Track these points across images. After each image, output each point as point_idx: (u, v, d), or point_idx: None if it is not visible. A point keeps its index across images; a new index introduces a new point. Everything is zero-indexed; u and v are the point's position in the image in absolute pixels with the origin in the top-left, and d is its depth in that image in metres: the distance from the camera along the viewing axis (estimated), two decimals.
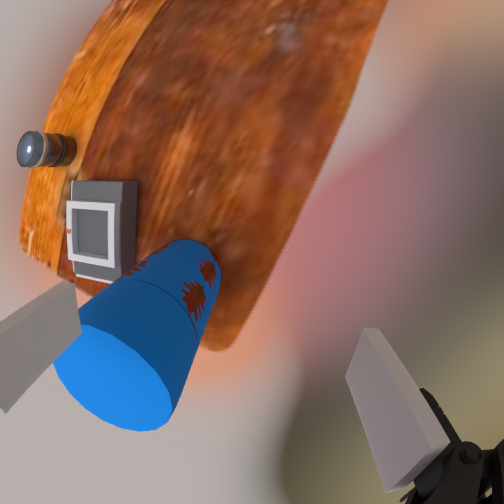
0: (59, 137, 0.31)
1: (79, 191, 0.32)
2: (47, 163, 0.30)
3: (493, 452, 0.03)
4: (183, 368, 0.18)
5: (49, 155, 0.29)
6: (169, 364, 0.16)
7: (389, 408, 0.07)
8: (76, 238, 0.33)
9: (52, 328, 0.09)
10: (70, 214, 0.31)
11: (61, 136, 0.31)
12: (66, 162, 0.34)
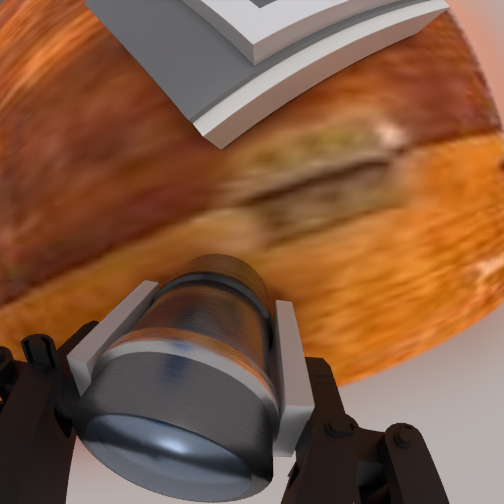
0: None
1: (198, 61, 0.07)
2: (223, 312, 0.08)
3: (380, 440, 0.05)
4: None
5: (162, 316, 0.07)
6: None
7: (276, 369, 0.09)
8: None
9: None
10: (288, 0, 0.05)
11: None
12: (229, 263, 0.13)
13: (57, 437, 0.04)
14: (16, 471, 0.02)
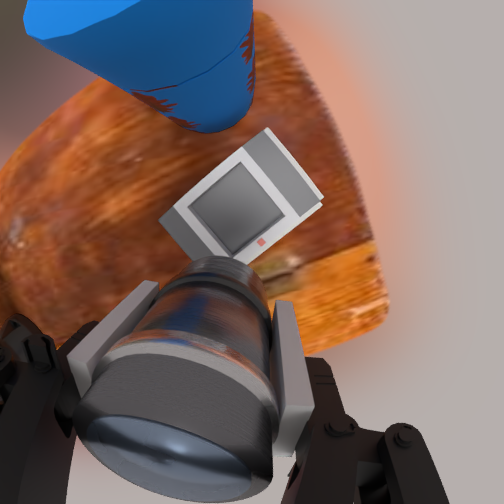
0: None
1: None
2: (223, 313, 0.08)
3: (380, 440, 0.05)
4: None
5: (163, 317, 0.07)
6: None
7: (276, 369, 0.09)
8: (267, 227, 0.27)
9: None
10: (239, 255, 0.26)
11: None
12: (229, 264, 0.13)
13: (57, 437, 0.04)
14: (16, 471, 0.02)
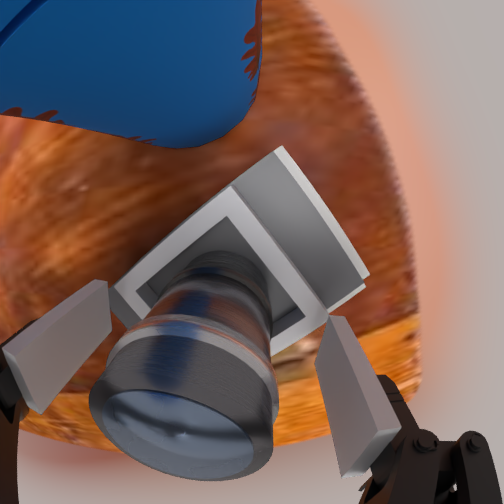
0: None
1: None
2: (227, 301, 0.09)
3: (454, 445, 0.04)
4: None
5: (172, 305, 0.08)
6: None
7: (345, 391, 0.08)
8: (273, 326, 0.15)
9: (87, 326, 0.10)
10: None
11: None
12: (232, 259, 0.13)
13: (0, 421, 0.04)
14: None
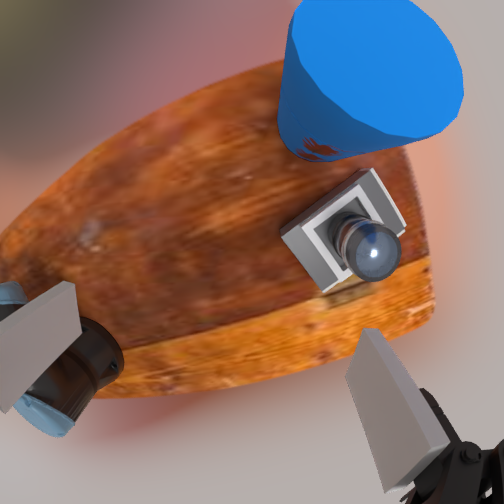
0: (335, 238, 0.29)
1: (325, 276, 0.34)
2: None
3: (493, 452, 0.03)
4: None
5: (360, 220, 0.25)
6: None
7: (389, 408, 0.07)
8: None
9: (52, 328, 0.09)
10: None
11: (333, 238, 0.29)
12: None
13: None
14: None
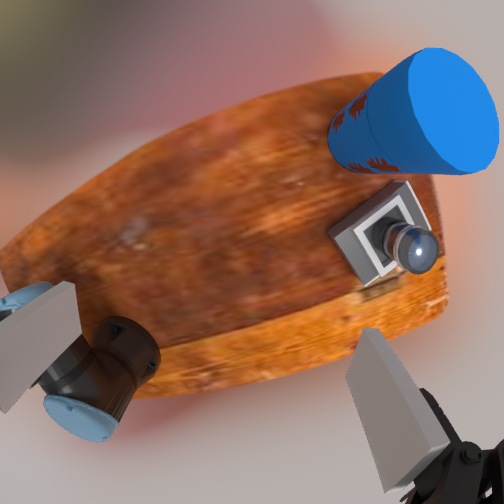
0: (382, 239, 0.32)
1: (367, 272, 0.38)
2: None
3: (493, 452, 0.03)
4: (398, 64, 0.15)
5: (406, 225, 0.29)
6: (399, 69, 0.14)
7: (389, 408, 0.07)
8: None
9: (52, 328, 0.09)
10: (389, 265, 0.36)
11: (380, 239, 0.33)
12: None
13: None
14: None
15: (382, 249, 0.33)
